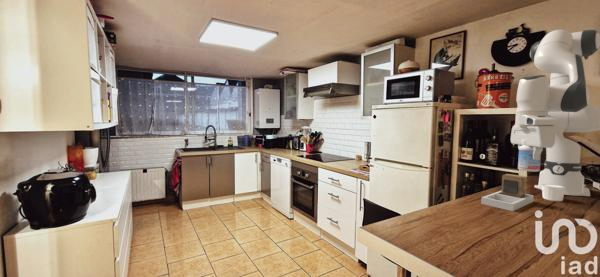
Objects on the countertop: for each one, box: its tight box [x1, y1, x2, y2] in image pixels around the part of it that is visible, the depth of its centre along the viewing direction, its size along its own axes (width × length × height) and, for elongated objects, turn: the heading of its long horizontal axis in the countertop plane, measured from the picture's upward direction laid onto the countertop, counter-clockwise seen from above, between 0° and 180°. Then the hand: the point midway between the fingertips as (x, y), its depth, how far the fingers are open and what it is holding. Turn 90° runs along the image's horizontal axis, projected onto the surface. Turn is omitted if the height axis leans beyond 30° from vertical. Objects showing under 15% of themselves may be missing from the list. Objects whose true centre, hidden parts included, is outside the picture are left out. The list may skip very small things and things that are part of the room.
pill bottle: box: [517, 140, 542, 172], centre depth 95 cm, size 6×6×11 cm
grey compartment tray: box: [480, 189, 535, 212], centre depth 101 cm, size 20×10×4 cm, turn 123°
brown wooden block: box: [501, 173, 527, 198], centre depth 103 cm, size 6×6×10 cm
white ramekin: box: [541, 184, 565, 202], centre depth 105 cm, size 7×7×7 cm
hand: (529, 158), depth 95 cm, fingers closed on pill bottle, 6 cm apart
